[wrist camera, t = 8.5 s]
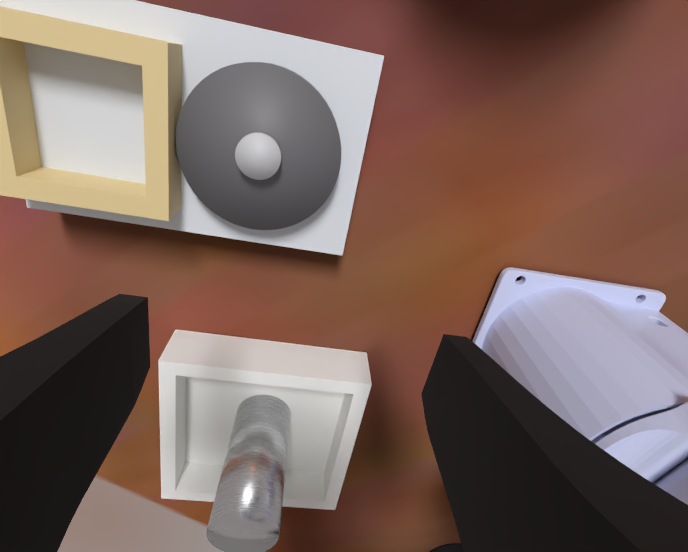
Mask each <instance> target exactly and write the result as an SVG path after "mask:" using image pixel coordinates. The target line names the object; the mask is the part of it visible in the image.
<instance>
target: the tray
mask: <svg viewBox="0 0 688 552" xmlns="http://www.w3.org/2000/svg"><path fill="white" fill-rule="evenodd" d="M158 362H159V408H160V455H161V498H165V499H180V500H195V501H209V502H214V500H215V496H216V492H217V488H218V484H219V480H220V476H221V472H222V468H223V464H224V460H225V456H226V452H227V448H228V444H229V440H230V436H231V433H232V429H233V425H234V421H235V417H236V413H237V409H238V407H239V405H240V404H241V402H242V401H244V400H245V399H247V398H249V397H251V396H255V395H271V396H274V397H277V398H279V399H281V400H282V401H284V402H285V403H286V404H287V406H288V407H289V409H290V412H291V419H290V430H289V440H288V450H287V461H286V471H285V481H284V492H283V502H282V506H283V507H298V508H313V509H328V510H335V509H336V505H337V502H338V498H339V495H340V492H341V488H342V485H343V481H344V478H345V474H346V471H347V468H348V464H349V461H350V457H351V454H352V450H353V447H354V444H355V440H356V437H357V433H358V430H359V427H360V423H361V420H362V416H363V413H364V409H365V406H366V403H367V399H368V396H369V392H370V389H371V385H372V383H371V376H370V370H369V364H368V358H367V353H366V352H357V351H349V350H341V349H333V348H324V347H316V346H308V345H300V344H292V343H283V342H275V341H267V340H259V339H250V338H242V337H234V336H226V335H217V334H209V333H201V332H193V331H184V330H176V329H175V331H174V333H173V335H172V337H171V338H170V340H169V342H168V344H167V346H166V348H165V350H164V351H163V353H162V355H161V357H160V359H159V361H158Z"/></svg>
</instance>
